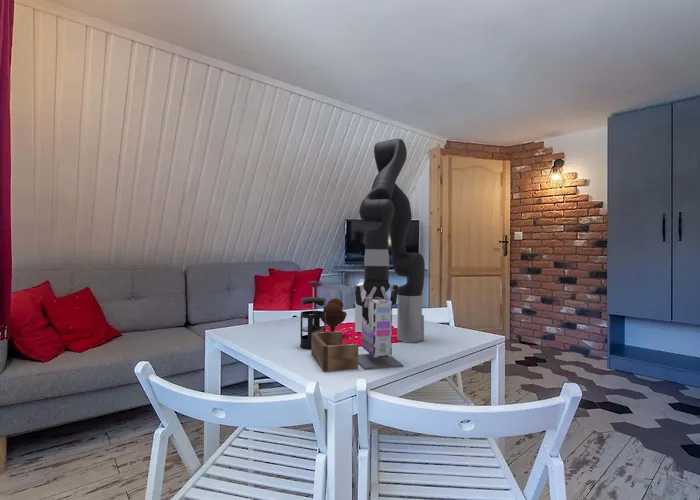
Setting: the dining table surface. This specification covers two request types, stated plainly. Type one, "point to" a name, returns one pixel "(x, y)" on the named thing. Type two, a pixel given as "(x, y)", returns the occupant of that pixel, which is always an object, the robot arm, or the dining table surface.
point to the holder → (333, 351)
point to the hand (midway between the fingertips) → (376, 318)
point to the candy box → (378, 328)
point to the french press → (312, 319)
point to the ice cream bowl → (334, 313)
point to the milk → (359, 310)
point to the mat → (377, 362)
